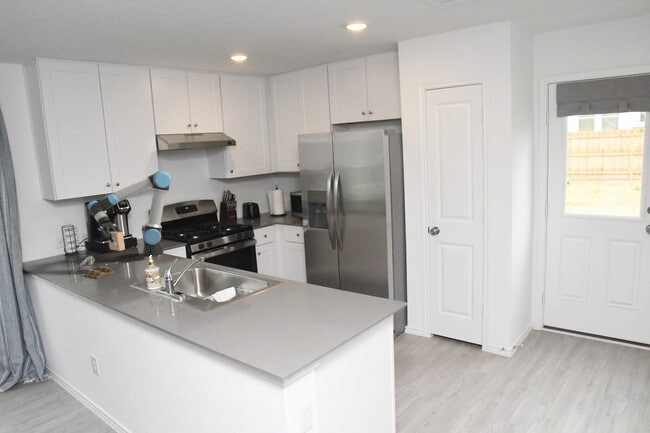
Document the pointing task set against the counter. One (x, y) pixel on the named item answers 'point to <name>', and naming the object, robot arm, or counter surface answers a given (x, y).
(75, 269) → the bracket
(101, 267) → the rack
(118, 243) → the salmon pink square block
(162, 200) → the robot arm
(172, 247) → the counter surface
